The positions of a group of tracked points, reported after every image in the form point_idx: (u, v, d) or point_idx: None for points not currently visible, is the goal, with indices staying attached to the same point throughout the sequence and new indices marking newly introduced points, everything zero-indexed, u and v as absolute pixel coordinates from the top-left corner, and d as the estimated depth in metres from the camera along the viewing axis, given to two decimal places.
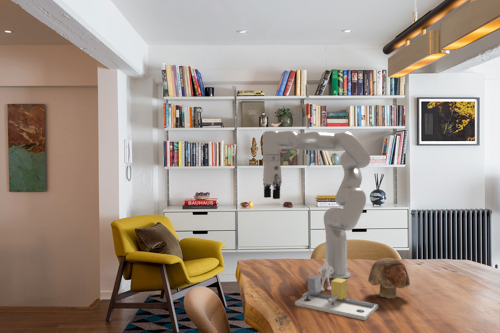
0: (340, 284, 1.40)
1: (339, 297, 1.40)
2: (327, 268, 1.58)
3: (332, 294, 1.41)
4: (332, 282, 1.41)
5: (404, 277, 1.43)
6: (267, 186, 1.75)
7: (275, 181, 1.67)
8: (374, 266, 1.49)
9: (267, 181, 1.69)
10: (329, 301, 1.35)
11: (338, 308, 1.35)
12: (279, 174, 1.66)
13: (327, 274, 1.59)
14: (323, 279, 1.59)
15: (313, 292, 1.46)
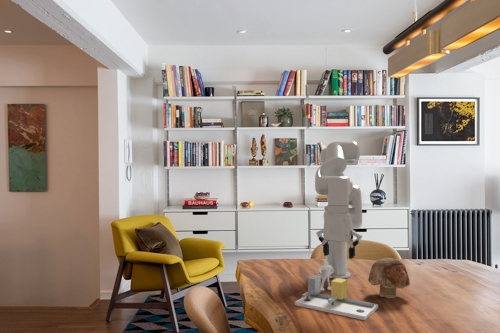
0: (340, 284, 1.40)
1: (339, 297, 1.40)
2: (327, 268, 1.58)
3: (332, 294, 1.41)
4: (332, 282, 1.41)
5: (404, 277, 1.43)
6: None
7: None
8: (374, 266, 1.49)
9: None
10: (329, 301, 1.35)
11: (338, 308, 1.35)
12: None
13: (327, 274, 1.59)
14: (323, 279, 1.59)
15: (313, 292, 1.46)
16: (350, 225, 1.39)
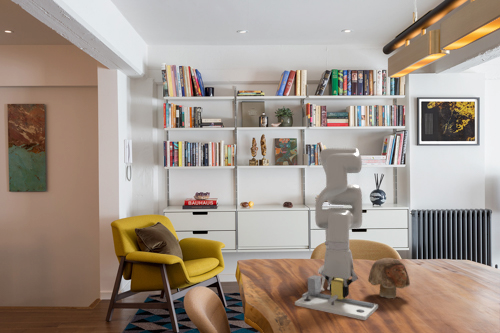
0: (340, 284, 1.40)
1: (339, 297, 1.40)
2: None
3: (332, 294, 1.41)
4: (332, 282, 1.41)
5: (404, 277, 1.43)
6: None
7: None
8: (374, 266, 1.49)
9: None
10: (329, 301, 1.35)
11: (338, 308, 1.35)
12: None
13: None
14: (323, 279, 1.59)
15: (313, 292, 1.46)
16: (350, 262, 1.39)
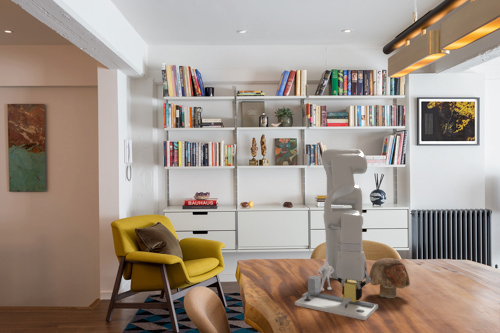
0: (353, 286, 1.37)
1: (352, 300, 1.37)
2: (327, 268, 1.58)
3: (345, 296, 1.39)
4: (345, 284, 1.39)
5: (404, 277, 1.43)
6: None
7: None
8: (374, 266, 1.49)
9: None
10: (342, 304, 1.32)
11: (338, 308, 1.35)
12: None
13: (327, 274, 1.59)
14: (323, 279, 1.59)
15: (313, 292, 1.46)
16: (364, 264, 1.36)
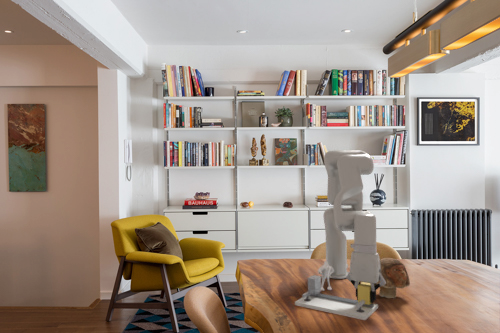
0: (367, 289, 1.34)
1: (366, 302, 1.34)
2: (327, 268, 1.58)
3: (359, 299, 1.36)
4: (359, 286, 1.36)
5: (404, 277, 1.43)
6: None
7: None
8: None
9: None
10: (357, 307, 1.29)
11: (338, 308, 1.35)
12: None
13: (327, 274, 1.59)
14: (323, 279, 1.59)
15: (313, 292, 1.46)
16: (378, 265, 1.33)
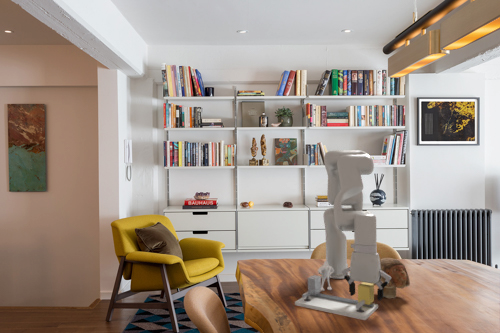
0: (367, 289, 1.34)
1: (366, 302, 1.34)
2: (327, 268, 1.58)
3: (359, 299, 1.36)
4: (359, 287, 1.36)
5: (404, 277, 1.43)
6: None
7: None
8: None
9: None
10: (357, 307, 1.29)
11: (338, 308, 1.35)
12: None
13: (327, 274, 1.59)
14: (323, 279, 1.59)
15: (313, 292, 1.46)
16: (378, 265, 1.33)
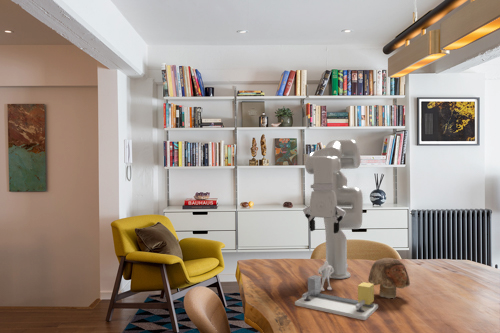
0: (367, 289, 1.34)
1: (366, 302, 1.34)
2: (327, 268, 1.58)
3: (359, 299, 1.36)
4: (359, 287, 1.36)
5: (404, 277, 1.43)
6: None
7: None
8: (374, 266, 1.49)
9: None
10: (357, 307, 1.29)
11: (338, 308, 1.35)
12: None
13: (327, 274, 1.59)
14: (323, 279, 1.59)
15: (313, 292, 1.46)
16: (335, 202, 1.48)
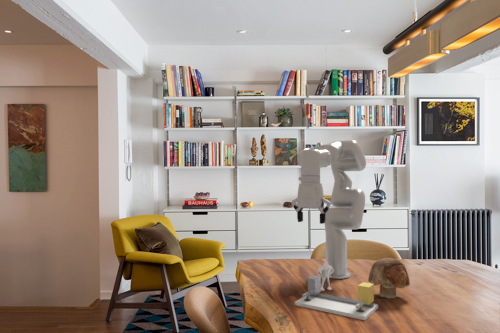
0: (367, 289, 1.34)
1: (366, 302, 1.34)
2: (327, 268, 1.58)
3: (359, 299, 1.36)
4: (359, 287, 1.36)
5: (404, 277, 1.43)
6: None
7: None
8: (374, 266, 1.49)
9: None
10: (357, 307, 1.29)
11: (338, 308, 1.35)
12: None
13: (327, 274, 1.59)
14: (323, 279, 1.59)
15: (313, 292, 1.46)
16: (321, 193, 1.52)
